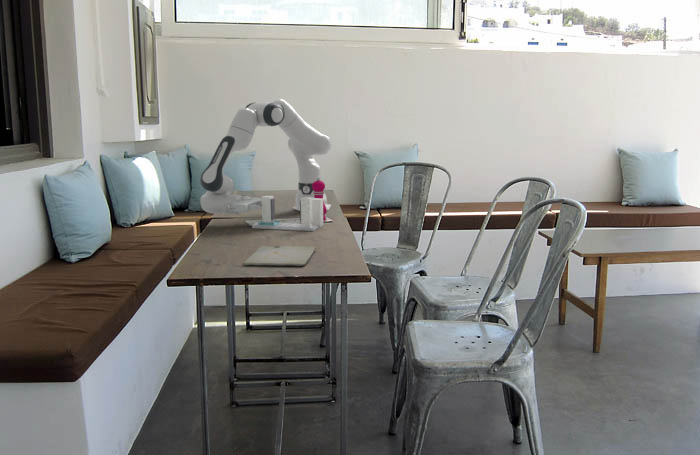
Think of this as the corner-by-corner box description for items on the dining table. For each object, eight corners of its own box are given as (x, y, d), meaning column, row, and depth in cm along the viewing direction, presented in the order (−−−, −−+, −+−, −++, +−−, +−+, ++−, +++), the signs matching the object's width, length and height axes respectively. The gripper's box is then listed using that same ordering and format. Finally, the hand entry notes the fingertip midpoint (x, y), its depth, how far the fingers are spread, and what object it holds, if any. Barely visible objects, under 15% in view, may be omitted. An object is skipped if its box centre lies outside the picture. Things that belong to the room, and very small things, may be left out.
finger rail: (259, 224, 279) (258, 194, 276) (319, 227, 271) (318, 196, 269) (252, 228, 271) (251, 197, 269) (313, 231, 264) (312, 199, 261)
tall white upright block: (266, 222, 275) (265, 195, 273) (275, 223, 274) (274, 196, 272) (262, 224, 272) (261, 197, 269) (272, 224, 270) (271, 197, 268)
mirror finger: (313, 224, 278) (313, 198, 276) (323, 225, 277) (323, 198, 275) (310, 226, 274) (310, 199, 272) (320, 226, 273) (320, 199, 271)
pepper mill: (327, 218, 293) (327, 176, 289) (325, 221, 286) (325, 178, 282) (312, 218, 294) (311, 176, 290) (310, 221, 287) (309, 178, 283)
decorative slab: (259, 250, 231) (258, 244, 230) (316, 250, 230) (316, 245, 229) (243, 268, 204) (242, 262, 204) (307, 268, 203) (307, 262, 203)
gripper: (224, 200, 265) (254, 201, 261) (244, 194, 284) (273, 195, 281) (225, 215, 266) (254, 216, 262) (245, 208, 286) (273, 209, 282)
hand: (264, 205), depth 272 cm, fingers open, 8 cm apart
